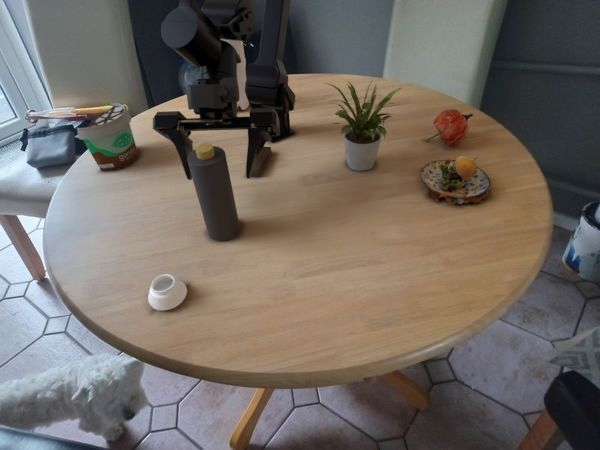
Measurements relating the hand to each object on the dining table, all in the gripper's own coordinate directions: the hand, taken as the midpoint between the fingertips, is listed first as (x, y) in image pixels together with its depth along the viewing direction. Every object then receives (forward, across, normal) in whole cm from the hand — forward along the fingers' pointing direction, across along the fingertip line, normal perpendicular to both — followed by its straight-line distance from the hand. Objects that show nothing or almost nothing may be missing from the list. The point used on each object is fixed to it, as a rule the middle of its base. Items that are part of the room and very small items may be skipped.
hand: (218, 178), depth 57 cm
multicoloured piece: (0, +40, +11) cm, 41 cm away
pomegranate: (-10, +42, +22) cm, 49 cm away
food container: (-8, -25, +19) cm, 32 cm away
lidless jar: (+17, -5, -6) cm, 19 cm away
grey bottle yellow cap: (+8, 0, +3) cm, 8 cm away
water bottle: (-25, -5, +37) cm, 45 cm away
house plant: (-5, +22, +17) cm, 29 cm away
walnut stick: (-6, +4, +17) cm, 19 cm away
